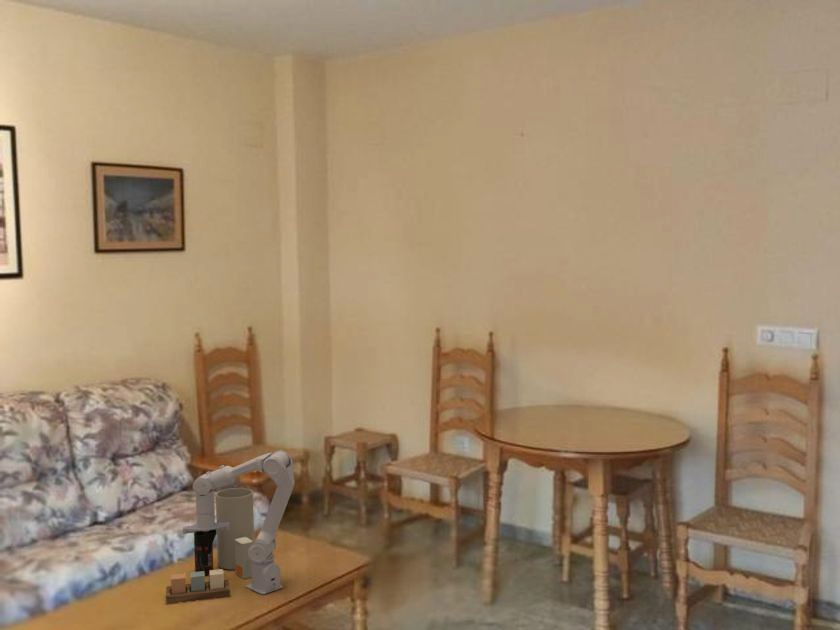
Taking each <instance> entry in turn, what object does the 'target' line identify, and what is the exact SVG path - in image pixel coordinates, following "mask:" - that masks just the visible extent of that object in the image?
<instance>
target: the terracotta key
mask: <svg viewBox="0 0 840 630" xmlns="http://www.w3.org/2000/svg"><path fill="white" fill-rule="evenodd" d="M170 575H171V577H170V584H171V585H170V586H171V588H172V594H177V593H185V592H186V584H187V581H186V573H177V574H176V573H175V574H170Z"/></svg>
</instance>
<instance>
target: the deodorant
mask: <svg viewBox="0 0 840 630" xmlns="http://www.w3.org/2000/svg"><path fill="white" fill-rule="evenodd" d="M193 546H194V548H193V549H194V572H200V571H204V574H205V577H208V576H210V575H209V570H214V552H213V551H214V550H213V549H214V543H213V544H212V547H211V554H208V531H206V532H204V547H205V555H203V551H202V548H201V545H200V543H199V541H198V539H197V537H196V533H193Z"/></svg>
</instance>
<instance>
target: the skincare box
mask: <svg viewBox="0 0 840 630" xmlns="http://www.w3.org/2000/svg"><path fill="white" fill-rule="evenodd" d="M252 545H253V541H252V540H250V539H248V538H247V537H243V538H238V539H235V570H234V571H235V575H237V576H239V577H240V578H241V579H243V580H245V579H248V577H249V578H251V560H250V558H249V556H248V551H249V548H250V547H251V546H252ZM244 578H245V579H244Z"/></svg>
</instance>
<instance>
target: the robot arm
mask: <svg viewBox="0 0 840 630" xmlns="http://www.w3.org/2000/svg"><path fill="white" fill-rule="evenodd" d="M255 471H258V472H260V473H261V474H263V473H265V474H266V475H267V476H268V477H269V478H270V479H271V480H272V481H273V482H274V484H275V485H276V489H275V492H274V494H273V497H272V500H271V502H270V505H269V506H268V510H267V513H266V516H265V518H264V520H263V524H262V526H261V529H260V531H259V533H258V535H257V537H256V539H254V544H253V545H252V546H251V547H250V548H249V551H248V556H249V558H250V560H251V577H250V578H251V582H250V584H246V586H245V588H247V589H249V590H252V591H254V592H256V593H259V594H261V595H266V594H269V593H272V592H274V591H277V590H279V589H283V588H284V586H283V585H281V581H282V579H281V578H282V577H281V568H280V565H278V564H277V563H276V561H275V557H274V554H273V553H274V551H275V549H276V547H277V546H276V545H277V544H276V539H277V531H278V528H279V527H280V523H281V521H282V519H283V516H284V513H285V510H286V507H287V505H288V502H289V500H290V497H291V495H292V493H293V489H294V487H295V475H294V470H293V460H292V458H291V457H290V455H289V453H288V452H286V451H285V450H282V449H280V450H275V451H274V452H268V453H265V454H263V455H259V456H256V457H254V458H252V459H249V460H248V461H245V462H243V463H240V464H238V465H236V466H234V467H232V466H230V465H226V466H225V465H224V464H223V465H221V466H218V469H215V470H213V471H206V473H204V474H202V475H200V476H198V477H197V478H196V479H195V480H194V481H193V483H192V489H193V492H194V493H195V512H196V514H195V515H196V524H191V525H186V526H182V527H181V528H182V535H187V534H194V533H196V537H197V539H198V541H199V543H200V545H201V548H202V551H203V555H205V547H204V532H206V531H208V554H211V547H212V544H213V545H214V541H215V538H217V530H229V522H227V523H217V522H216V519H215V518H216V516H215V515H216V514H215V513H216V507H215V490H218V489H220V488H223V487H226V486H228V485H230V484H234V482H235V480H236V478H238V477H241V476H243V475H246V474H248V473H252V472H255Z"/></svg>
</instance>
